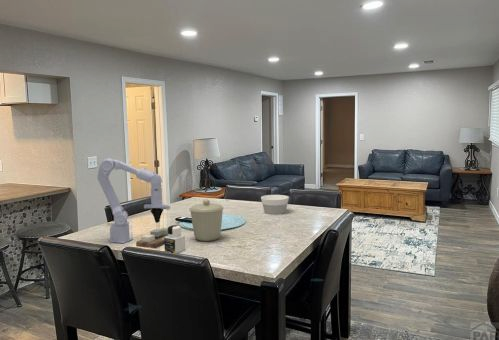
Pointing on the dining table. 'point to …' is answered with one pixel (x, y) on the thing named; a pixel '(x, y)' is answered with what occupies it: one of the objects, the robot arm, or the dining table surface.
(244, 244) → the dining table surface
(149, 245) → the keypad board
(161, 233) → the grey key
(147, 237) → the cream key
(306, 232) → the dining table surface
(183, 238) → the medicine bottle
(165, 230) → the sage key
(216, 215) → the canister
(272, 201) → the bowl
